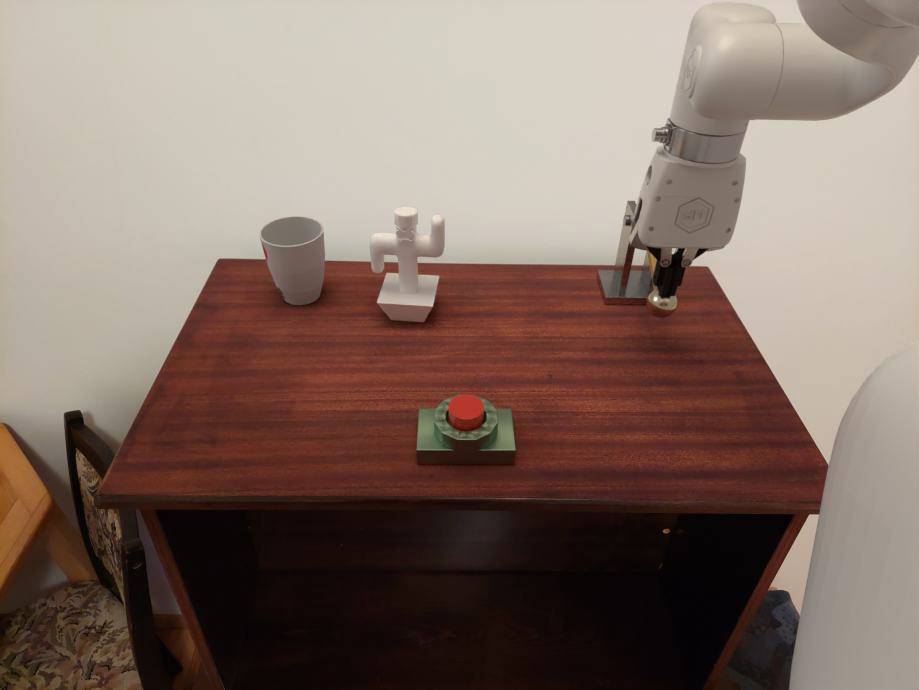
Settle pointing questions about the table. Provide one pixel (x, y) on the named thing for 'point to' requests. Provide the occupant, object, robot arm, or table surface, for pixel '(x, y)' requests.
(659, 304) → the lever
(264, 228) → the cup
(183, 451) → the table surface
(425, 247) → the figurine
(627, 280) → the bracket
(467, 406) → the button
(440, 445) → the button box
